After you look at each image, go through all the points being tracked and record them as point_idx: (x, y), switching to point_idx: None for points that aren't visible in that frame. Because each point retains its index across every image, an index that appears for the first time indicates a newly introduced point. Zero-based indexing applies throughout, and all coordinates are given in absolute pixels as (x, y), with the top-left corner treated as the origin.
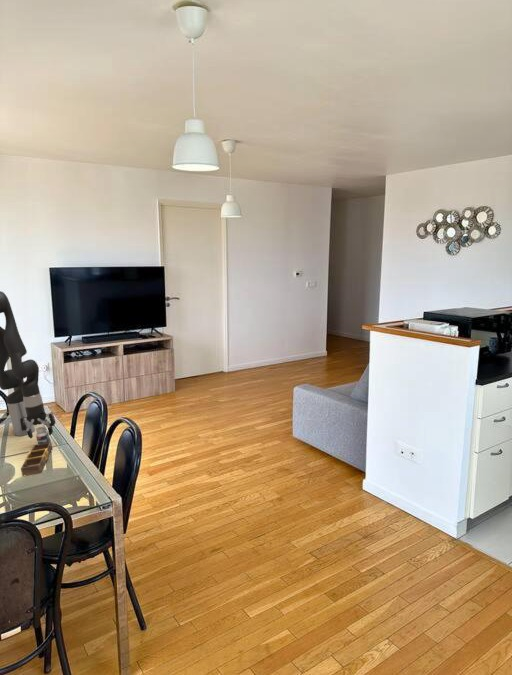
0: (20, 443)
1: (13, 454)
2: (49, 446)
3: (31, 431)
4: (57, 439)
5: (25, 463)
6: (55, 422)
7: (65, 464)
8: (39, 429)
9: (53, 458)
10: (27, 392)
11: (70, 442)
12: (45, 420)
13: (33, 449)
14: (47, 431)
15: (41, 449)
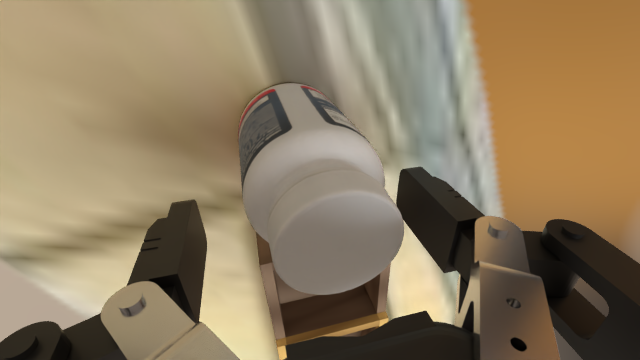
0: None
1: (60, 237)
2: (386, 274)
3: (187, 257)
4: (380, 29)
5: None
6: (588, 231)
7: (445, 322)
8: (332, 280)
9: (391, 287)
10: None
11: (480, 125)
12: (504, 307)
13: (278, 299)
14: (382, 171)
15: (354, 330)
